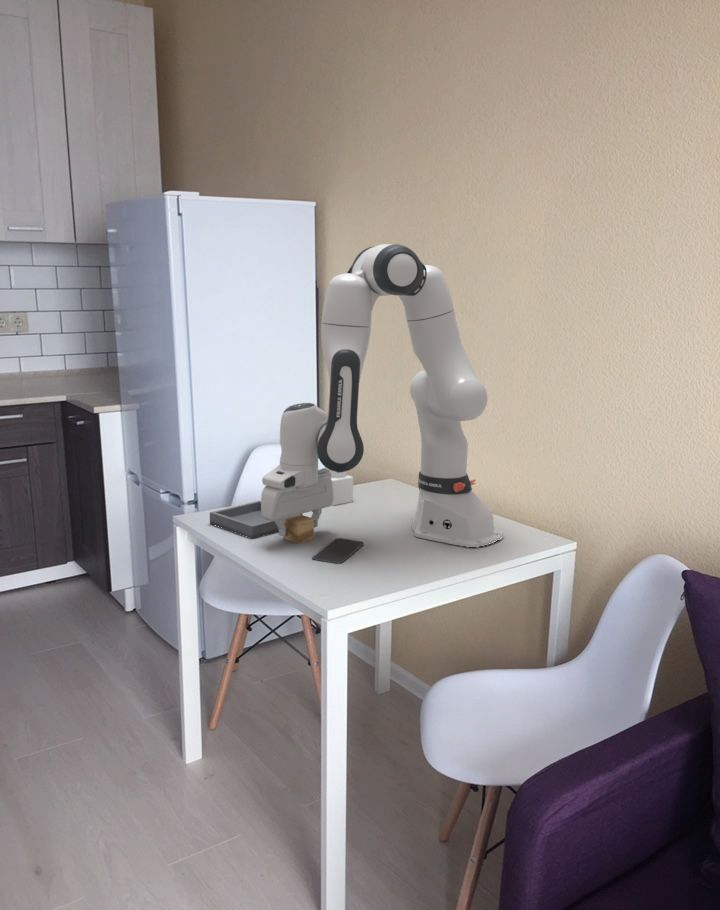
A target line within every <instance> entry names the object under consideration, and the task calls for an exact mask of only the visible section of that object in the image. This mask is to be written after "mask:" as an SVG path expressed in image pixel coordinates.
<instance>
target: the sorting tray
mask: <svg viewBox="0 0 720 910" xmlns="http://www.w3.org/2000/svg"><path fill="white" fill-rule="evenodd" d="M300 515H303V514H300ZM211 524H213V525H212V526H214V525H216V526H215V527H217V526H219V527H222V528H224V529H223V530H225V529H227V530H226V531H228V530H230V531H229V532H231V531H233V532H232V533H234V532H236V533H235V534H237V533H238V534H237V535H240V534H241V535H240V536H242V535H244V536H243V537H245V536H247V537H246V538H248V537H250V538H249V539H251V538H252V540H254V539H258V538H261V537H264V536H263V535H265V536H267V534H269V535H271V533H272V534H276V533H279V528H278V527H277V525H276V523H275V521H270V520H267V519H264V518H263V516H262V514H261V500H257V501H256V500H255V501H252V502H247V503H243V504H239V505H235V506H231V507H227V508H223V509H219V510H214V511H211V512H209V525H211ZM219 527H218V528H219ZM222 528H221V529H222ZM275 532H276V533H275ZM260 536H261V537H260ZM257 537H258V538H257ZM253 538H254V539H253Z"/></svg>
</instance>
